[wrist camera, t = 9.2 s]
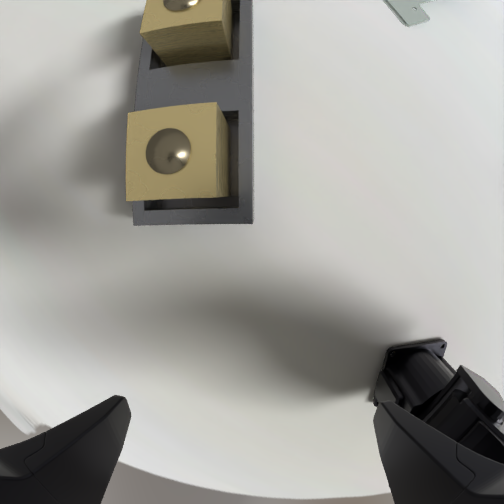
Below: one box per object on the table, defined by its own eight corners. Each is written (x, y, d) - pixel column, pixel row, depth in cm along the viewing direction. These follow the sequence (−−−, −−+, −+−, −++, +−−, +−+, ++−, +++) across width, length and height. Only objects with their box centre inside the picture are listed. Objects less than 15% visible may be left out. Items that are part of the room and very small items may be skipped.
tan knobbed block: (234, 19, 15) (224, -31, 9) (232, 65, 16) (221, 18, 10) (175, 25, 16) (150, -19, 10) (170, 71, 16) (138, 32, 10)
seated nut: (230, 129, 17) (216, 100, 11) (230, 196, 18) (215, 197, 12) (165, 134, 18) (126, 112, 12) (165, 198, 18) (124, 201, 12)
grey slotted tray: (252, 6, 15) (251, -11, 13) (253, 219, 19) (252, 223, 16) (160, 17, 16) (150, 2, 13) (148, 221, 19) (133, 225, 17)
